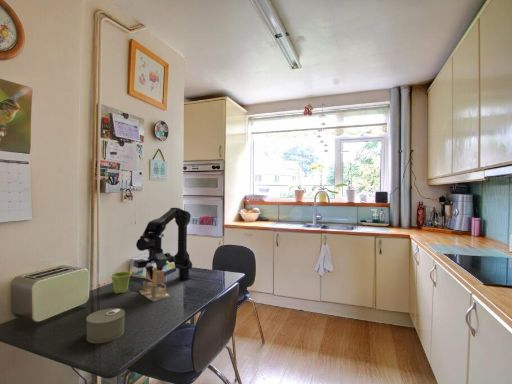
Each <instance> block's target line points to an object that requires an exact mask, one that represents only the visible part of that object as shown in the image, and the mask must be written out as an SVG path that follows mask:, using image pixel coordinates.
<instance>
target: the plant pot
mask: <svg viewBox="0 0 512 384" xmlns="http://www.w3.org/2000/svg"><path fill="white" fill-rule="evenodd" d="M131 275H132V273H131V272H130V271H120V272H119V271H118V272H115V273H112V274H110V277H111V280H112V286H113V293H115V294H124V293H126V292H127V291H128V289H129V283H130V277H131Z"/></svg>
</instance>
